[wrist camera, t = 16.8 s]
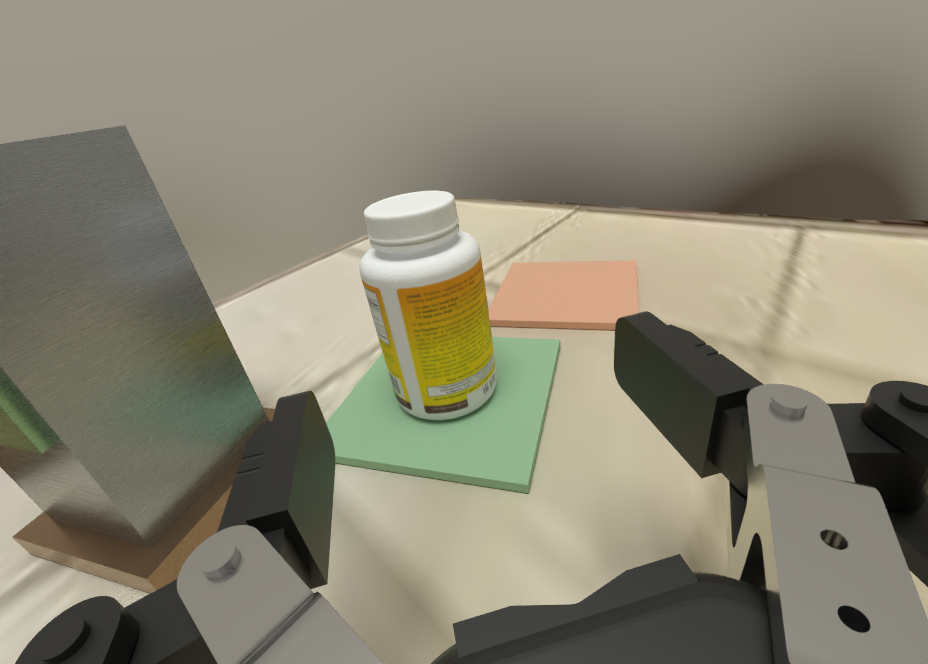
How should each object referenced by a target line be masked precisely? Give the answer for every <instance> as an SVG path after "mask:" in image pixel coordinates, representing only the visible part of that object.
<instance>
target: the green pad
mask: <svg viewBox="0 0 928 664" xmlns="http://www.w3.org/2000/svg"><path fill="white" fill-rule="evenodd" d="M492 342H493V349H494V357H495V364H496V372H497V382H496V386H495V389H494V391H493V393H492V395H491V396H490V398H489V399H488V400H487V401H486V402H485V403H484V404H483V405H482V406H480V407H479V408H477V409H476V410H474V411H472V412H470V413H468V414H466V415H464V416H460V417H457V418H453V419H447V420H428V419H423V418H419V417H416V416H414V415H412V414H410V413H408V412H407V411H406V410H404V409H403V408H402V407H401V405H400V404H399V402H398V401H397V399H396V396H395V393H394V389H393V386H392V382H391V379H390V376H389V372H388V369H387V365H386V362H385V359H384V355H383V353H382V354H381V355H380V357H379V358H378V359H377V360H376V362H375V363H374V364H373V365H372V367H371V368H370V369H369V370H368V372H367V373H366V374H365V375H364V377H363V378H362V379H361V380H360V382H359V383H358V384H357V385H356V387H355V388H354V389H353V390H352V392H351V393H350V394H349V395H348V397H347V398H346V399H345V400H344V402H343V403H342V404H341V405H340V407H339V408H338V409H337V410H336V412H335V413H334V414H333V415H332V417H331V418H330V419H329V420H328V422H327V423H326V424H327V427H328V429H329V432H330V434H331V437H332V440H333V444H334V449H335V463H339V464H345V465H351V466H358V467H364V468H371V469H377V470H383V471H390V472H396V473H402V474H409V475H415V476H422V477H428V478H434V479H441V480H447V481H453V482H460V483H466V484H473V485H479V486H485V487H492V488H498V489H504V490H511V491H517V492H524V493H529V488H530V484H531V479H532V475H533V470H534V465H535V461H536V456H537V452H538V447H539V442H540V438H541V433H542V429H543V424H544V420H545V415H546V410H547V406H548V401H549V397H550V392H551V387H552V383H553V378H554V374H555V369H556V365H557V360H558V355H559V351H560V340H550V339H525V338H499V337H492Z"/></svg>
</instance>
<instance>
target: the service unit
mask: <svg viewBox="0 0 928 664" xmlns="http://www.w3.org/2000/svg"><path fill="white" fill-rule="evenodd" d="M274 413H275V409H269V408H263V407H262V405H261V403H260V401H259V399H258V397H257V395H256V392H255V390H254V388H253V386H252V384H251V382H250V380H249V378H248V376H247V374H246V372H245V370H244V368H243V366H242V364H241V362H240V360H239V358H238V356H237V354H236V351H235V349H234V347H233V345H232V343H231V341H230V339H229V337H228V335H227V333H226V331H225V329H224V327H223V325H222V323H221V321H220V319H219V317H218V315H217V313H216V310H215V308H214V306H213V304H212V302H211V300H210V298H209V296H208V294H207V292H206V290H205V288H204V286H203V284H202V282H201V280H200V278H199V276H198V274H197V272H196V270H195V268H194V265H193V263H192V261H191V259H190V257H189V255H188V253H187V251H186V249H185V247H184V245H183V243H182V241H181V239H180V237H179V235H178V233H177V231H176V229H175V227H174V224H173V222H172V220H171V218H170V216H169V214H168V212H167V210H166V208H165V206H164V204H163V202H162V200H161V198H160V196H159V194H158V192H157V190H156V188H155V186H154V183H153V181H152V179H151V178H150V175H149V174H148V171H147V169H146V167H145V165H144V163H143V161H142V159H141V157H140V155H139V153H138V151H137V149H136V147H135V145H134V142H133V141H132V139H131V136H130V134H129V132H128V130H127V128H126V126H119V127H112V128H105V129H99V130H92V131H85V132H79V133H72V134H65V135H59V136H52V137H45V138H38V139H32V140H25V141H18V142H12V143H5V144H0V467H1V468H2V469H3V470H4V471H5V472H6V473H7V474H8V475H9V476H10V477H11V478H12V479H13V480H14V481H15V482H16V483H17V484H18V485H19V486H20V488H21V489H22V490H23V491H24V492H25V493H26V494H27V495H28V496H29V497H30V498H31V499H32V500H33V501H34V502H35V503H36V504H37V505H38V506H39V507H40V508H41V509H42V510H43V511H44V512H43V513H42V514H41V515H39V516H38V517H37V518H36V519H34V520H33V521H32V522H30V523H29V524H28V525H27V526H25V527H24V528H23V529H22V530H20V531H19V532H18V533H17V534H15V535H14V536H13V538H14V539H15V540H16V541H17V542H18V543H19V544H20V545H21V546H22V547H23V548H24V549H26V550H27V551H28V552H29V553H30V554H32V555H35V556H38V557H41V558H44V559H47V560H50V561H53V562H56V563H59V564H62V565H65V566H68V567H71V568H74V569H77V570H80V571H83V572H87V573H90V574H93V575H96V576H99V577H102V578H105V579H108V580H111V581H114V582H117V583H120V584H123V585H126V586H129V587H132V588H135V589H139V590H142V591H145V592H148V593H153V592H154V591H156V590H158V589H160V588H162V587H164V586H166V585H167V584H169V583H171V582H173V581H174V580H176V579H177V578H178V575H179V572H180V570H181V568H182V566H183V564H184V562H185V561H186V559H187V558H188V557H189V555H190V554H191V553H192V552H193V551H194V550H195V549H196V548H197V547H198V546H199V545H200V544H201V543H202V542H204V541H205V540H206V539H207V538H209V537H210V536H212V535H213V534H215V533H217V531H218V528H219V525H220V522H221V519H222V515H223V512H224V509H225V506H226V503H227V500H228V497H229V494H230V491H231V488H232V485H233V482H234V479H235V477H236V476H237V470H238V466H239V463H240V462H241V461H242V459H241V457H242V454H243V451H244V448H245V445H246V442H247V440H248V439H249V438H250V436H251V435H252V434H253V433H254V431H255V430H256V429H257V428H258V426H259V425H260V424H261V423H265V422H269V421H272V420H273V416H274Z"/></svg>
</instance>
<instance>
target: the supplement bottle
mask: <svg viewBox="0 0 928 664" xmlns="http://www.w3.org/2000/svg"><path fill="white" fill-rule="evenodd" d="M364 218H365V222H366V226H367V230H368V237H369V239H370V244H371V247H372V248H371V249H370V250H369V251H367V252H366V254H365V255H364V256H363V258H362V260H361V262H360V274H361V278H362V282H363V285H364V289H365V292H366V296H367V299H368V303H369V306H370V310H371V313H372V317H373V320H374V324H375V327H376V331H377V334H378V338H379V342H380V345H381V348H382V351H383V355H384V359H385V362H386V365H387V369H388V372H389V376H390V379H391V382H392V386H393V389H394V393H395V396H396V399H397V401H398V402H399V404H400V405H401V407H402V408H403V409H404V410H406V411H407V412H408V413H410V414H412V415H414V416H416V417H419V418H423V419H428V420H447V419H453V418H457V417H460V416H464V415H466V414H468V413H470V412H472V411H474V410H476V409H477V408H479V407H480V406H482V405H483V404H484V403H485V402H486V401H487V400H488V399H489V398H490V396H491V395H492V393H493V391H494V389H495V386H496V382H497V372H496V364H495V357H494V349H493V342H492V334H491V327H490V319H489V312H488V304H487V297H486V290H485V282H484V275H483V268H482V260H481V253H480V248H479V245H478V243H477V241H476V240H475V238H473V237H472V236H471V235H469V234H468V233H465V232H463V231H459V224H458V222H459V218H458V216H457V211H456V204H455V198H454V196H453V195H452V194H451V193H448V192H444V191H421V192H413V193H407V194H402V195H398V196H394V197H390V198H386V199H384V200H381V201H378V202H376V203H374V204H372V205H370V206H369V207H368V208H366V209H365V211H364Z"/></svg>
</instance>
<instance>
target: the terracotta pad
mask: <svg viewBox="0 0 928 664" xmlns="http://www.w3.org/2000/svg"><path fill="white" fill-rule="evenodd" d="M488 312H489V319H490V326H500V327H533V328H565V329H598V330H615V325H616V321H617V320H618V319H619V318H621V317H625V316H629V315H633V314H637V313H639V310H638V291H637V272H636V261H592V262H538V263H513V264H512V266H511V268H510V270H509V271H508V273H507V275H506V277H505V279H504V281H503V283H502V285H501V287H500V289H499V290H498V292H497V294H496V296H495V298H494V300H493V302H492V304H491V306H490V308H489V309H488Z"/></svg>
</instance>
